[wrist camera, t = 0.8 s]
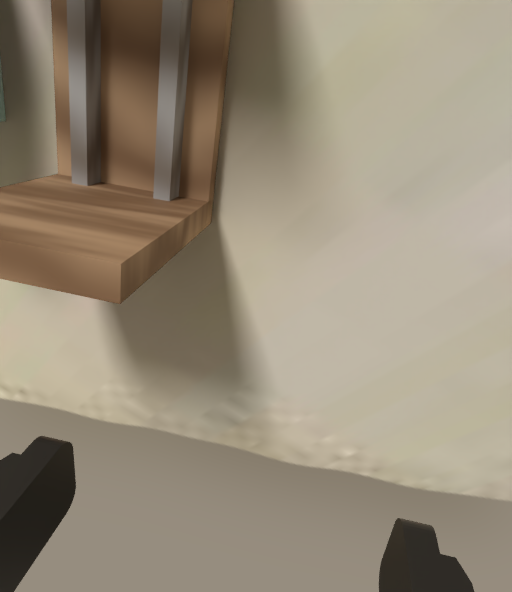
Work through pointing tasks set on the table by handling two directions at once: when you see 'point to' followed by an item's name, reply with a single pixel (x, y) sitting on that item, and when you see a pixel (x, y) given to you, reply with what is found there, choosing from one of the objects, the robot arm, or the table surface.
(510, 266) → the table surface
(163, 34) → the slotted wooden stand
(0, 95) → the pale teal rectangular block
